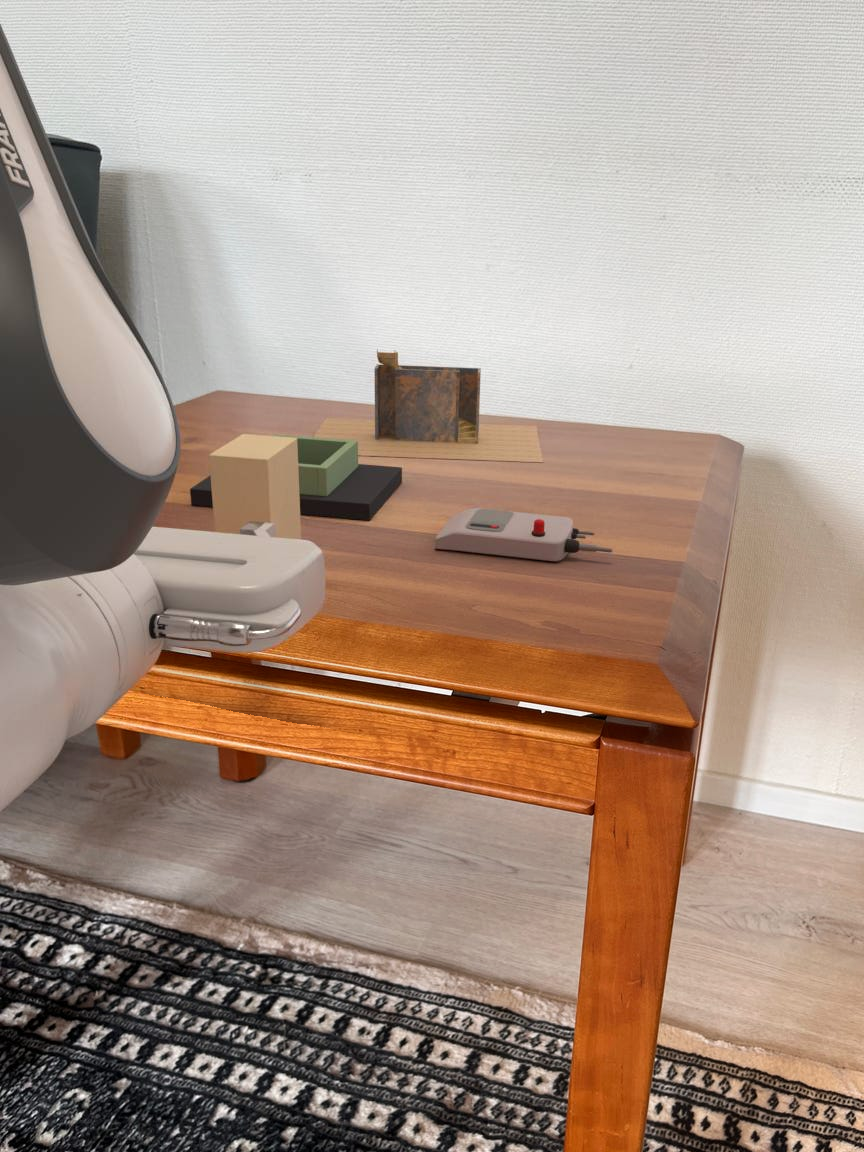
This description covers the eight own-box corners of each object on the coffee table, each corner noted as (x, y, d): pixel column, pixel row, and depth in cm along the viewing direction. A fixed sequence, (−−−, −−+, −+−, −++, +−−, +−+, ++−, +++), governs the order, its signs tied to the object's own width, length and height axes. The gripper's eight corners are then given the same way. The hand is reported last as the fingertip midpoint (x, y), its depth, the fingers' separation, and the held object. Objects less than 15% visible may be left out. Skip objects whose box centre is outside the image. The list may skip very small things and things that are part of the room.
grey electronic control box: (433, 522, 87) (434, 487, 86) (617, 541, 84) (620, 506, 83) (412, 547, 81) (412, 511, 80) (609, 569, 78) (612, 531, 77)
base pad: (190, 505, 89) (187, 460, 87) (242, 469, 99) (239, 428, 98) (369, 520, 87) (369, 474, 85) (402, 482, 97) (402, 441, 96)
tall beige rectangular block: (219, 596, 70) (208, 454, 66) (251, 566, 76) (242, 433, 72) (275, 602, 70) (267, 459, 66) (302, 571, 75) (297, 437, 71)
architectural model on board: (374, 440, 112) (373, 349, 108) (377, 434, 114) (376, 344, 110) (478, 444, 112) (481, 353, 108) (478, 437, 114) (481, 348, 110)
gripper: (273, 577, 44) (359, 489, 57) (-153, 537, 47) (18, 461, 59) (280, 705, 47) (360, 594, 59) (-124, 660, 50) (34, 563, 62)
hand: (186, 527), depth 59 cm, fingers open, 8 cm apart
